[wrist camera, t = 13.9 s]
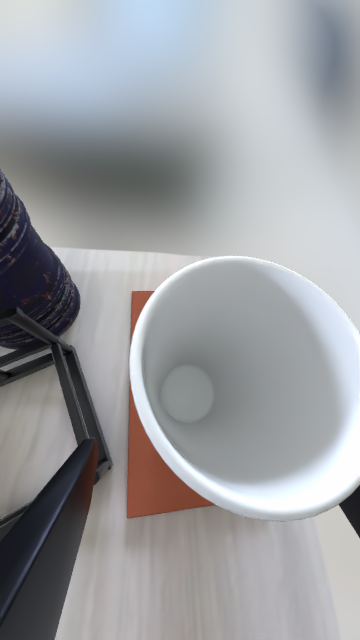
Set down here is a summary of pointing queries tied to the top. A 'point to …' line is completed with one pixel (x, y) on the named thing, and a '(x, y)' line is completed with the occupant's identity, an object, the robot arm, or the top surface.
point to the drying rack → (58, 358)
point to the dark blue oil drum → (31, 276)
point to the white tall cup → (250, 387)
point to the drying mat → (152, 460)
